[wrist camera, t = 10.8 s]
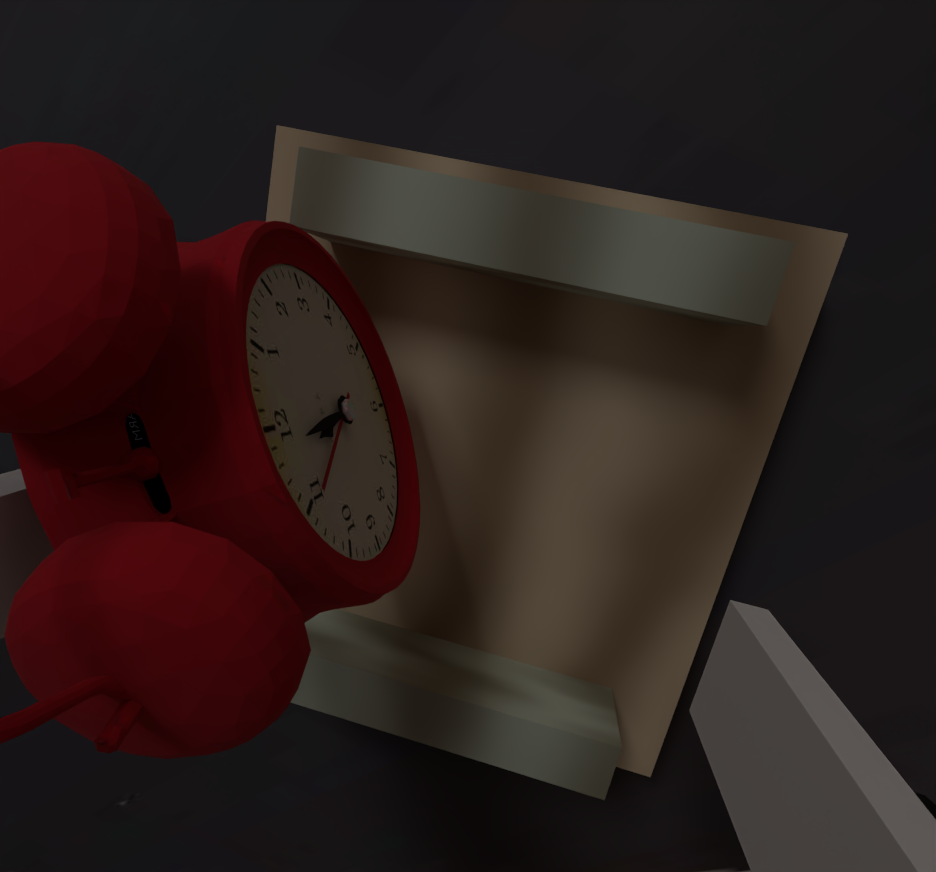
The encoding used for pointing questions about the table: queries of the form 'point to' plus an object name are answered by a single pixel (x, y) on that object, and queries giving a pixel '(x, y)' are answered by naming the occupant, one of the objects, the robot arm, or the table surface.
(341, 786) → the table surface
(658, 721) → the display stand
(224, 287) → the alarm clock
